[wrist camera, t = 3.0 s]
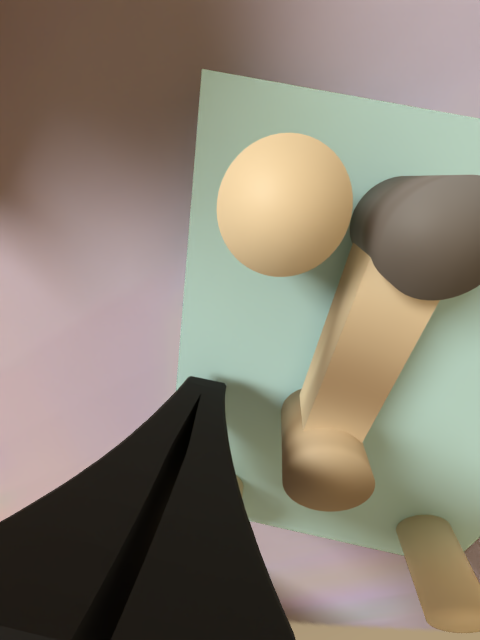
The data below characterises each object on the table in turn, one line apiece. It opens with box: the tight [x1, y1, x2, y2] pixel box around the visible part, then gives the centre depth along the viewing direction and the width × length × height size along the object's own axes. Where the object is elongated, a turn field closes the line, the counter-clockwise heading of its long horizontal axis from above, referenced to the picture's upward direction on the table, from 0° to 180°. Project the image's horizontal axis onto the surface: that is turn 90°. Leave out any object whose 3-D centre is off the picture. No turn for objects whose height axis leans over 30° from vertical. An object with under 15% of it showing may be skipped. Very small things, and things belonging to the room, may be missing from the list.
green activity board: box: [176, 69, 480, 633], centre depth 10 cm, size 18×15×4 cm
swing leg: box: [281, 175, 480, 512], centre depth 8 cm, size 9×3×3 cm, turn 170°
